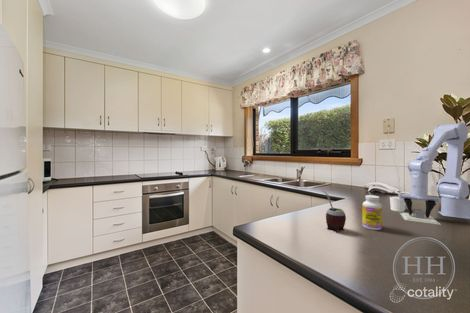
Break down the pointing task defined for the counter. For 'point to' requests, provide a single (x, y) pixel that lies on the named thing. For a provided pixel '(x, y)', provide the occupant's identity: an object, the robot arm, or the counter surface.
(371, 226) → the supplement bottle
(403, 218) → the mat
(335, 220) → the mate gourd
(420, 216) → the lid
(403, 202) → the shot glass
